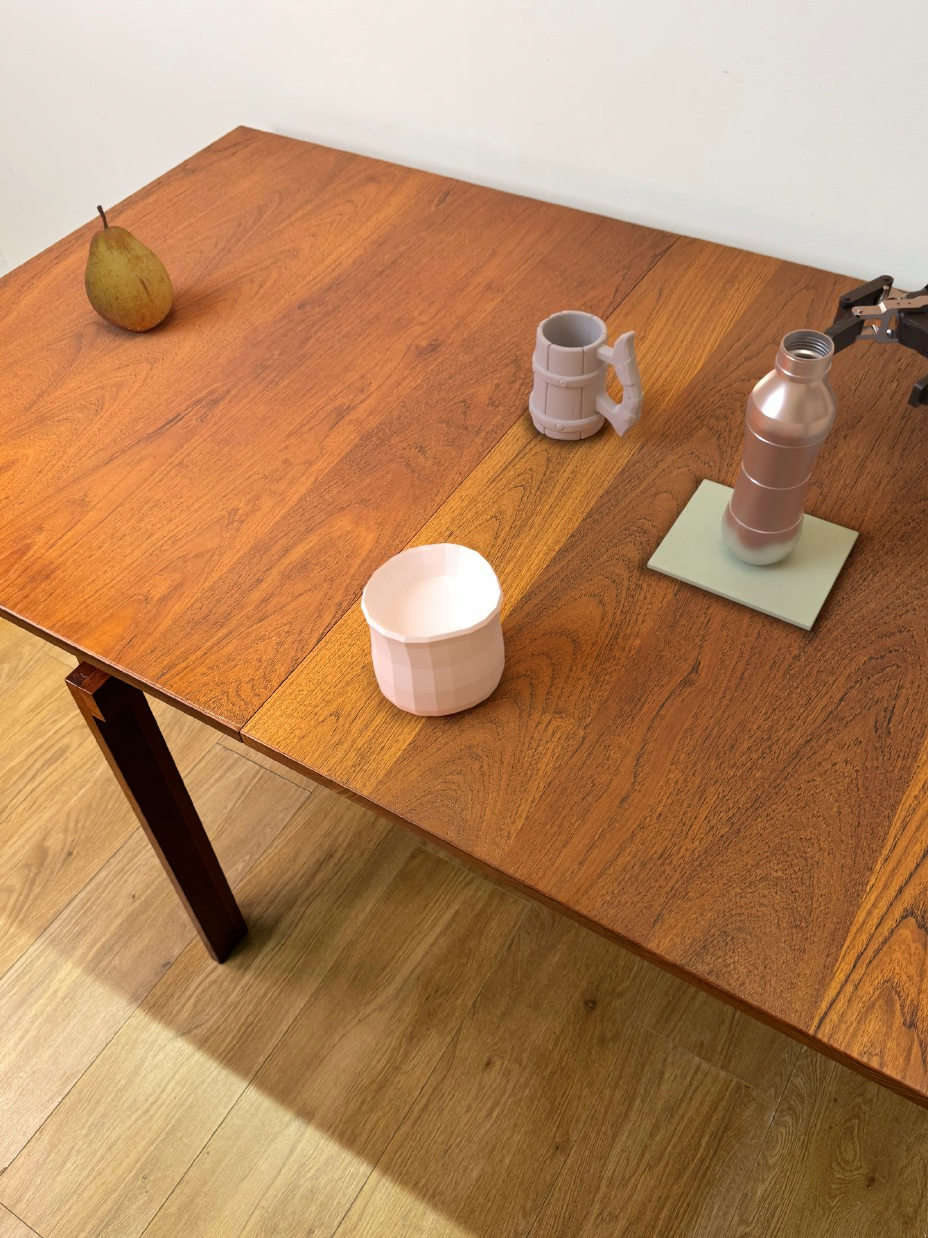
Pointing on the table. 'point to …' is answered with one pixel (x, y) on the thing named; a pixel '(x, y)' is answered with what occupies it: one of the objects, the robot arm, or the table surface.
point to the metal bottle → (781, 450)
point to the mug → (582, 378)
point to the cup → (435, 629)
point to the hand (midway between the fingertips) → (868, 370)
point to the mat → (771, 589)
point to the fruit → (126, 280)
